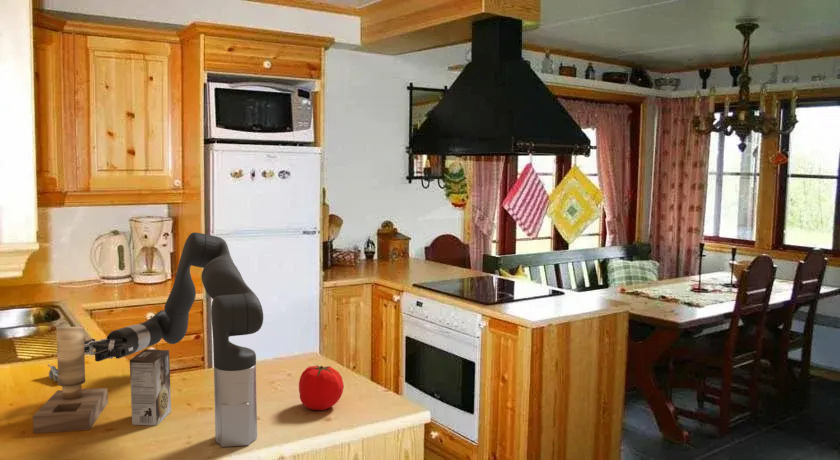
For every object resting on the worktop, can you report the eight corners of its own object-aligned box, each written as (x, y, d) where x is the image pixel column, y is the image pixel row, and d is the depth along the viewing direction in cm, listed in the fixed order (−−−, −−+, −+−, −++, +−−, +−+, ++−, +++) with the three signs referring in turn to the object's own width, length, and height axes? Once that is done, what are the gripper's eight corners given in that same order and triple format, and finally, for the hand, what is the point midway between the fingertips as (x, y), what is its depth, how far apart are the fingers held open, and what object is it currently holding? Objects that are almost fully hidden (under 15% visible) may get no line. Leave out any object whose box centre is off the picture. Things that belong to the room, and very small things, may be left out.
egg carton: (46, 378, 202) (46, 364, 201) (74, 372, 207) (73, 359, 207) (59, 386, 194) (58, 372, 194) (87, 380, 200) (86, 366, 199)
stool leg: (81, 400, 172) (80, 332, 170) (54, 401, 171) (53, 332, 169) (88, 392, 178) (87, 326, 176) (62, 393, 177) (61, 326, 175)
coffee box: (146, 411, 176) (144, 348, 174) (172, 412, 176) (170, 349, 174) (130, 425, 167) (128, 359, 165) (157, 426, 167) (155, 359, 165)
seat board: (89, 429, 164) (88, 413, 163) (33, 433, 161) (32, 416, 161) (108, 402, 181) (107, 387, 181) (57, 405, 179) (57, 390, 179)
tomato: (288, 407, 180) (287, 365, 178) (322, 396, 188) (322, 355, 187) (319, 419, 172) (318, 375, 171) (353, 406, 180) (353, 364, 179)
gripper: (107, 324, 194) (60, 338, 179) (149, 329, 189) (104, 344, 174) (108, 351, 195) (61, 367, 179) (150, 356, 190) (105, 373, 175)
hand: (82, 355), depth 177 cm, fingers open, 8 cm apart
